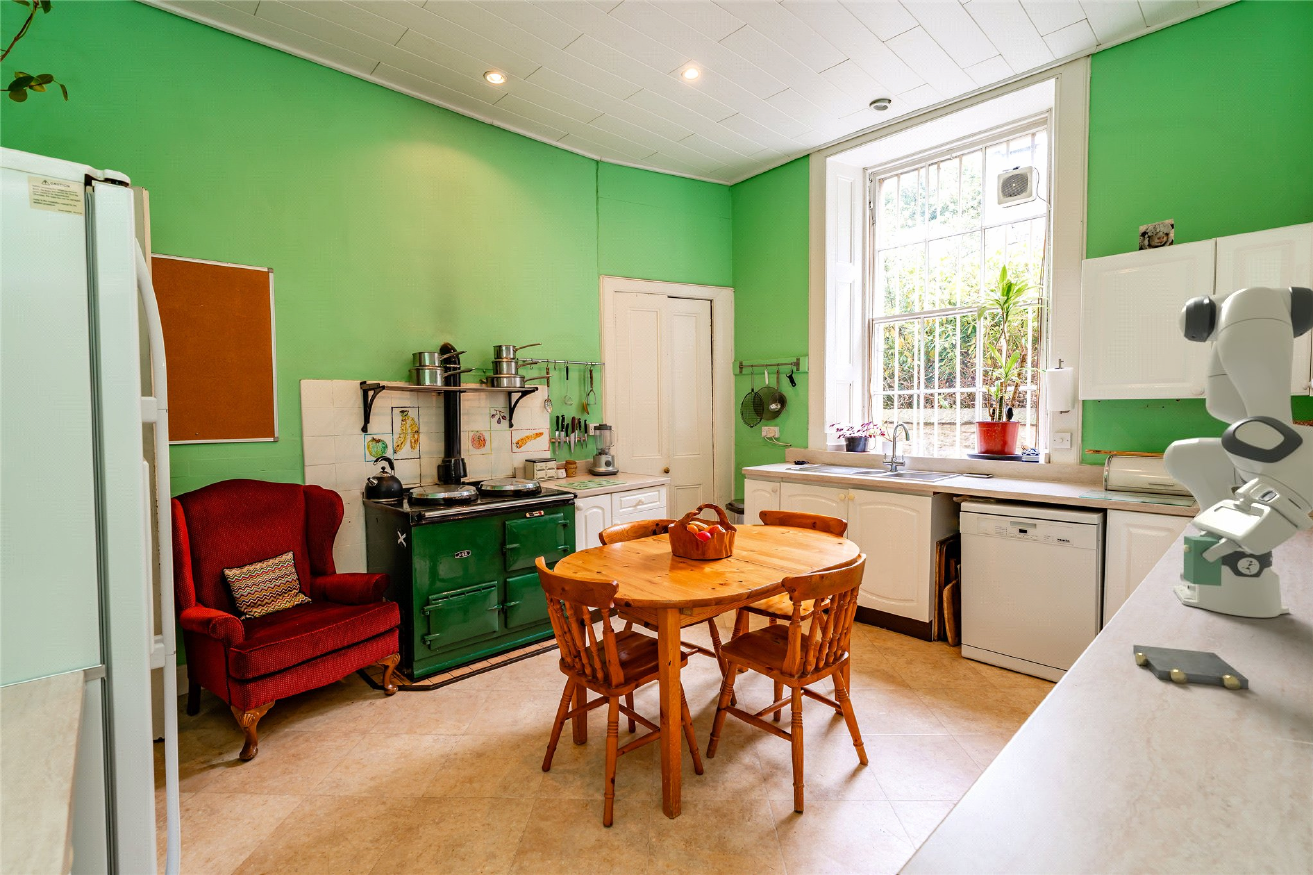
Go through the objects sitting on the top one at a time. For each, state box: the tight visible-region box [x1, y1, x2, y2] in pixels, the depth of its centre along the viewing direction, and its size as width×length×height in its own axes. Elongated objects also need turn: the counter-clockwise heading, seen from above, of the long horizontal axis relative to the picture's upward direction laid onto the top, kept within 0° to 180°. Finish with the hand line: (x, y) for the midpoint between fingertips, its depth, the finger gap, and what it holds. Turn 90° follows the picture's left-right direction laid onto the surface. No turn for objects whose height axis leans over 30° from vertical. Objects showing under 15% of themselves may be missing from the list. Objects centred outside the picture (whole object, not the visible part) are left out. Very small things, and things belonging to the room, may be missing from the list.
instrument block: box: [1182, 535, 1222, 586], centre depth 112 cm, size 4×5×8 cm
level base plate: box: [1132, 644, 1249, 691], centre depth 108 cm, size 13×13×2 cm
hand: (1197, 555), depth 112 cm, fingers closed on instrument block, 4 cm apart
